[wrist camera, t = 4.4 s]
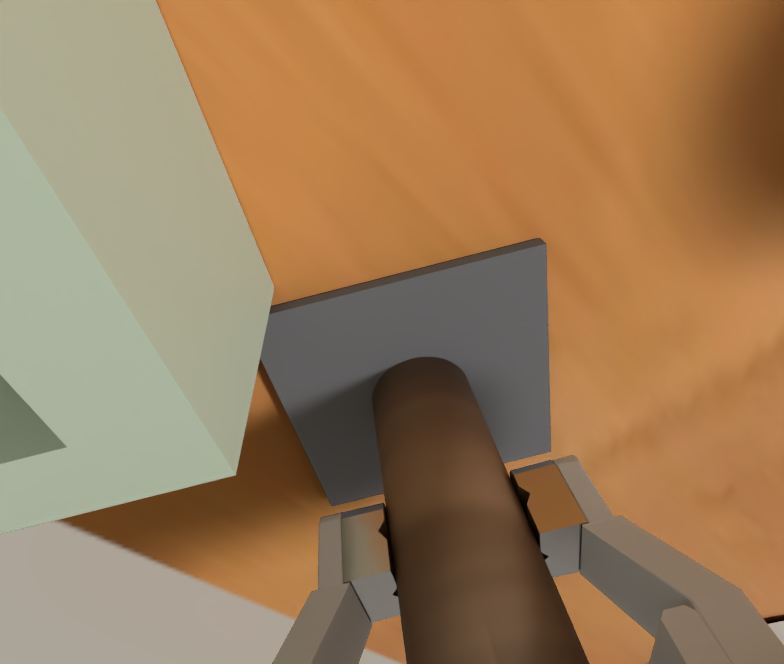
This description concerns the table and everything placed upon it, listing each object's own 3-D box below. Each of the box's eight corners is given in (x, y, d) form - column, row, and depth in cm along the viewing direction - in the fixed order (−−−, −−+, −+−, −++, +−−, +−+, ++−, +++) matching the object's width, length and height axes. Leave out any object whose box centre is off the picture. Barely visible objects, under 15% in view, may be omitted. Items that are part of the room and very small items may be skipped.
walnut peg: (474, 419, 14) (680, 933, 6) (384, 441, 14) (466, 985, 6) (463, 345, 13) (725, 915, 4) (361, 371, 13) (429, 984, 4)
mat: (546, 443, 16) (551, 451, 16) (331, 496, 16) (331, 506, 16) (539, 238, 12) (546, 243, 11) (244, 313, 12) (242, 321, 11)
